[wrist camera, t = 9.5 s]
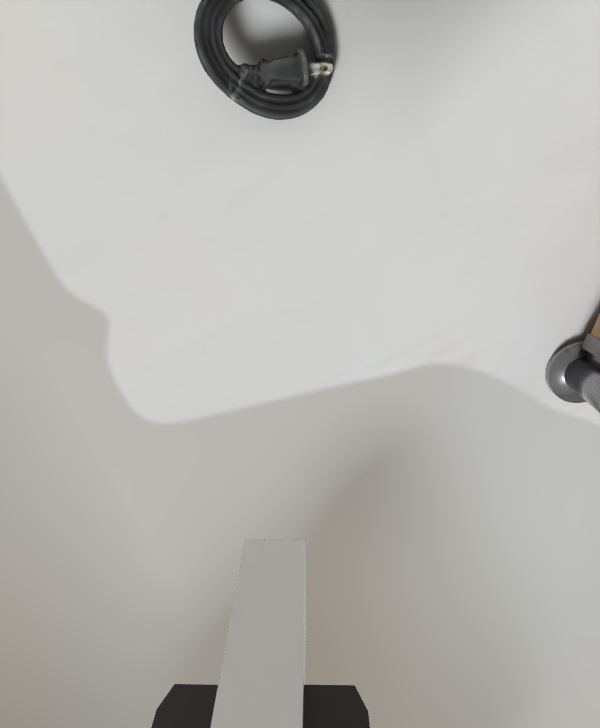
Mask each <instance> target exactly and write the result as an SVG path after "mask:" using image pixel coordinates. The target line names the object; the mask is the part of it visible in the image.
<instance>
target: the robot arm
mask: <svg viewBox="0 0 600 728" xmlns="http://www.w3.org/2000/svg"><path fill="white" fill-rule="evenodd" d="M305 659H306V539H245V541H244V547H243V552H242V558H241V564H240V569H239V574H238V579H237V585H236V591H235V596H234V601H233V607H232V612H231V618H230V623H229V629H228V634H227V640H226V645H225V650H224V656H223V661H222V667H221V672H220V678H219V683H218V685H190V684H187V685H186V684H175V685H174V686H173V687H172V689H171V690H170V692H169V693H168V694H167V696H166V697H165V699H164V700H163V702H162V703H161V704H160V706H159V707H158V708H157V711H156V714H155V718H154V721H153V724H152V728H370V727H369V717H368V711H367V709H366V707H365V705H364V703H363V701H362V699H361V697H360V695H359V693H358V691H357V689H356V687H355V686H351V685H350V686H349V685H305Z"/></svg>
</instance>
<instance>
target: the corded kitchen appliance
mask: <svg viewBox="0 0 600 728" xmlns="http://www.w3.org/2000/svg"><path fill="white" fill-rule="evenodd" d="M241 1H243V0H201V2H200V4H199V6H198V9H197V12H196V16H195V21H194V41H195V47H196V51H197V54H198V57H199V59H200V62H201V64H202V66H203V68H204V70H205V72H206V73H207V74H208V76H209V77H210V78H211V79H212V81H213V82H214V83H215V84H216V86H217V87H218V88H220V89H221V90H222V91H223V92H224V93H225V94H226V95H227V96H228V97H229V98H230V99H232V100H233V101H234V102H236V103H237V104H239V105H240V106H242V107H243V108H245V109H247V110H248V111H250V112H252V113H254V114H256V115H259V116H262V117H265V118H269V119H275V120H284V119H292V118H295V117H299V116H301V115H303V114H305V113H307V112H308V111H310V110H311V109H313V108H314V107H315V106H316V105H317V104H318V103H319V102H320V101H321V100H322V98H323V97H324V95H325V93H326V91H327V89H328V86H329V84H330V81H331V78H332V75H333V71H334V53H333V42H332V35H331V31H330V28H329V25H328V22H327V20H326V18H325V16H324V14H323V12H322V11H321V9H320V8H319V7H318V6H317V5H316V4H315V3H314V1H313V0H271V1H273V2H276V3H278V4H280V5H281V6H283V7H285V8H286V9H287V10H289V11H290V12H291V13H292V14H293V15H294V16H295V17H296V18H297V19H298V20H299V21H300V22H301V23H302V25H303V26H304V28H305V29H306V31H307V33H308V35H309V37H310V39H311V42H312V45H313V48H314V52H315V56H316V60H315V61H313V62H310V61H309V60H308V59H307V57H306V54H305V49H304V48H298V49H297V51H296V53H295V54H294V55H292V56H285V57H282V58H278V59H275V60H272V61H267V60H265V59H261V60H260V62H259V64H258V65H248V64H246V63H243V64H242V65H237V64H235V63H234V62H233V61H232V59H231V58H230V57H229V55H228V53H227V52H226V50H225V47H224V44H223V33H222V31H223V24H224V20H225V18H226V16H227V14H228V13H229V11H230V10H231V9H232V8H233V7H234V6H235V5H236V4H237V3H239V2H241ZM265 89H273V90H291V91H292V94H274V93H269V92H267V91H266V90H265Z"/></svg>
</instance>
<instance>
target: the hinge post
mask: <svg viewBox="0 0 600 728" xmlns="http://www.w3.org/2000/svg"><path fill="white" fill-rule="evenodd" d="M584 341H585V340H579V341H574V342H571V343H568V344H566V345H564V346H563V347H561V348H560V349H559V350H558V351H556V352H555V354H554V355H553V356H552V357H551V359H550V361H549V362H548V365H547V368H546V381H547V384H548V386H549V388H550V389H551V390H552V392H554V393H555V394H556V395H557V396H558V397H559V398H561V399H562V400H564V401H567V402H572V403H581V402H586V401H587V402H588V403H589V404H590V405H591V406H593V407H594V408H595V409H596V410H597V411H598V412H600V359H598V358H597V357H595V356H594V355H592V354H591V353H589V352H588V351H586V350H585V349H583V348H582V345H583V343H584Z"/></svg>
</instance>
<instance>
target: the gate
mask: <svg viewBox="0 0 600 728" xmlns="http://www.w3.org/2000/svg"><path fill="white" fill-rule="evenodd" d="M582 348H583V349H585V350H586V351H588V352H589V353H591V354H592V355H594V356H595V357H597V358H598V359H600V313H599V316H598V318H597V320H596V323H595V325H594V327H593V329H592V332H591V334H587V336H586V338H585V341H584V343H583V345H582Z"/></svg>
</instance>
